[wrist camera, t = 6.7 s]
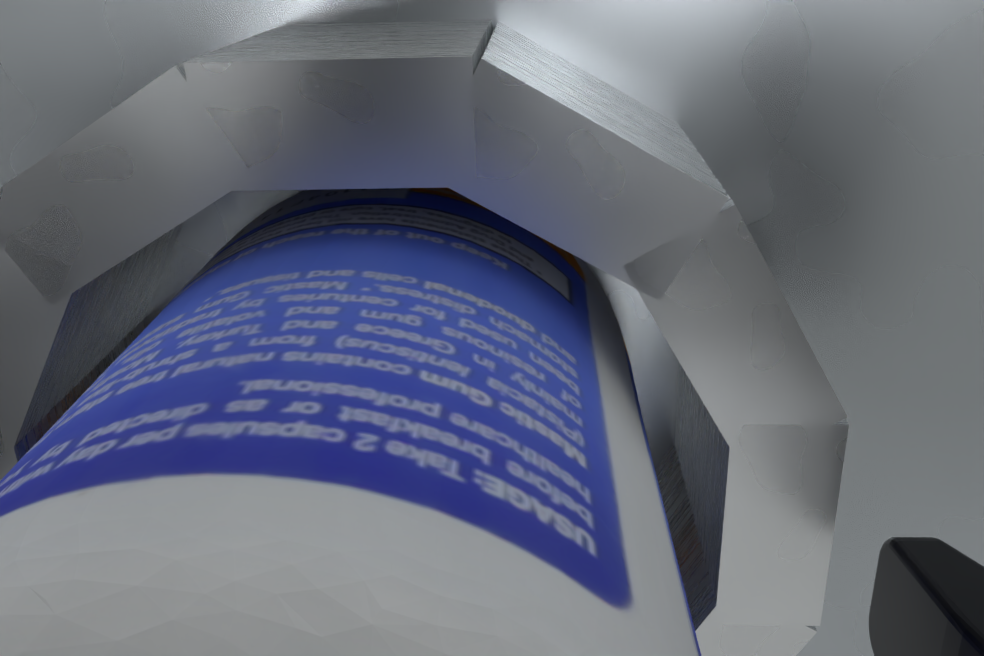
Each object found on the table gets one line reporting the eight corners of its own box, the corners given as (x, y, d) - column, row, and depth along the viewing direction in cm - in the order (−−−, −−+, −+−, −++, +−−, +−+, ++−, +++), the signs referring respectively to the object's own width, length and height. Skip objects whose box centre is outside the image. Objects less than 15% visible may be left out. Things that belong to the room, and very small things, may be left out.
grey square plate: (-5, 824, 16) (-154, 1070, 13) (-298, -36, 11) (-709, -16, 7) (1059, 849, 15) (1213, 1124, 12) (1348, -85, 10) (1808, -93, 6)
